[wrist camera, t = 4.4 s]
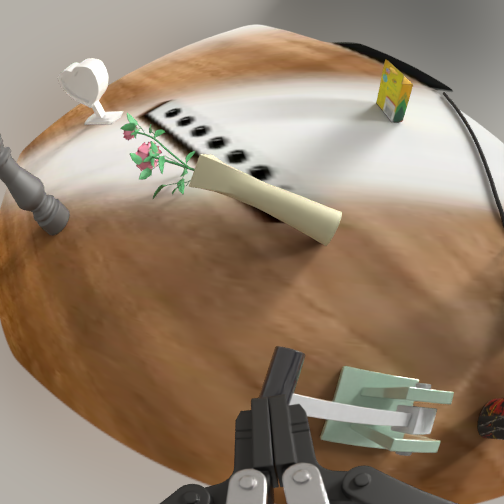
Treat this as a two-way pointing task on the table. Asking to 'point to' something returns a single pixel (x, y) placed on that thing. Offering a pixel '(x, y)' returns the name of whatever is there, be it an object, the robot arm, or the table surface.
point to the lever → (284, 382)
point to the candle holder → (32, 194)
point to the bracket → (386, 398)
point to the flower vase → (240, 188)
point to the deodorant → (492, 419)
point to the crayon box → (393, 93)
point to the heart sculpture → (88, 88)
